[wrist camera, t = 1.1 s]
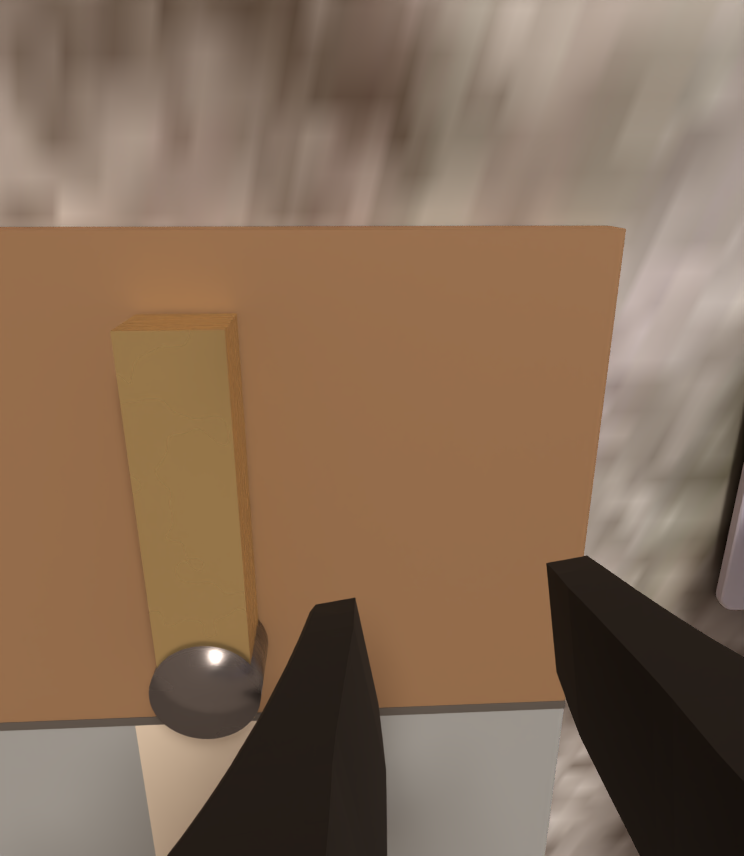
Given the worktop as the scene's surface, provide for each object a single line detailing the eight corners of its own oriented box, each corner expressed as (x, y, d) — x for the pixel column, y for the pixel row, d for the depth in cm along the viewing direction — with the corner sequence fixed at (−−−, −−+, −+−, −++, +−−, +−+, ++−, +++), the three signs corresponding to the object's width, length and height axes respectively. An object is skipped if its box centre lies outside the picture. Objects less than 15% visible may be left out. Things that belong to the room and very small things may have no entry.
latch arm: (270, 681, 21) (263, 736, 19) (173, 685, 20) (155, 741, 18) (246, 313, 17) (234, 332, 15) (125, 314, 16) (95, 333, 14)
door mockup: (607, 225, 18) (626, 228, 16) (522, 930, 27) (530, 964, 26) (-256, 227, 17) (-300, 231, 15) (-24, 962, 26) (-40, 998, 25)
